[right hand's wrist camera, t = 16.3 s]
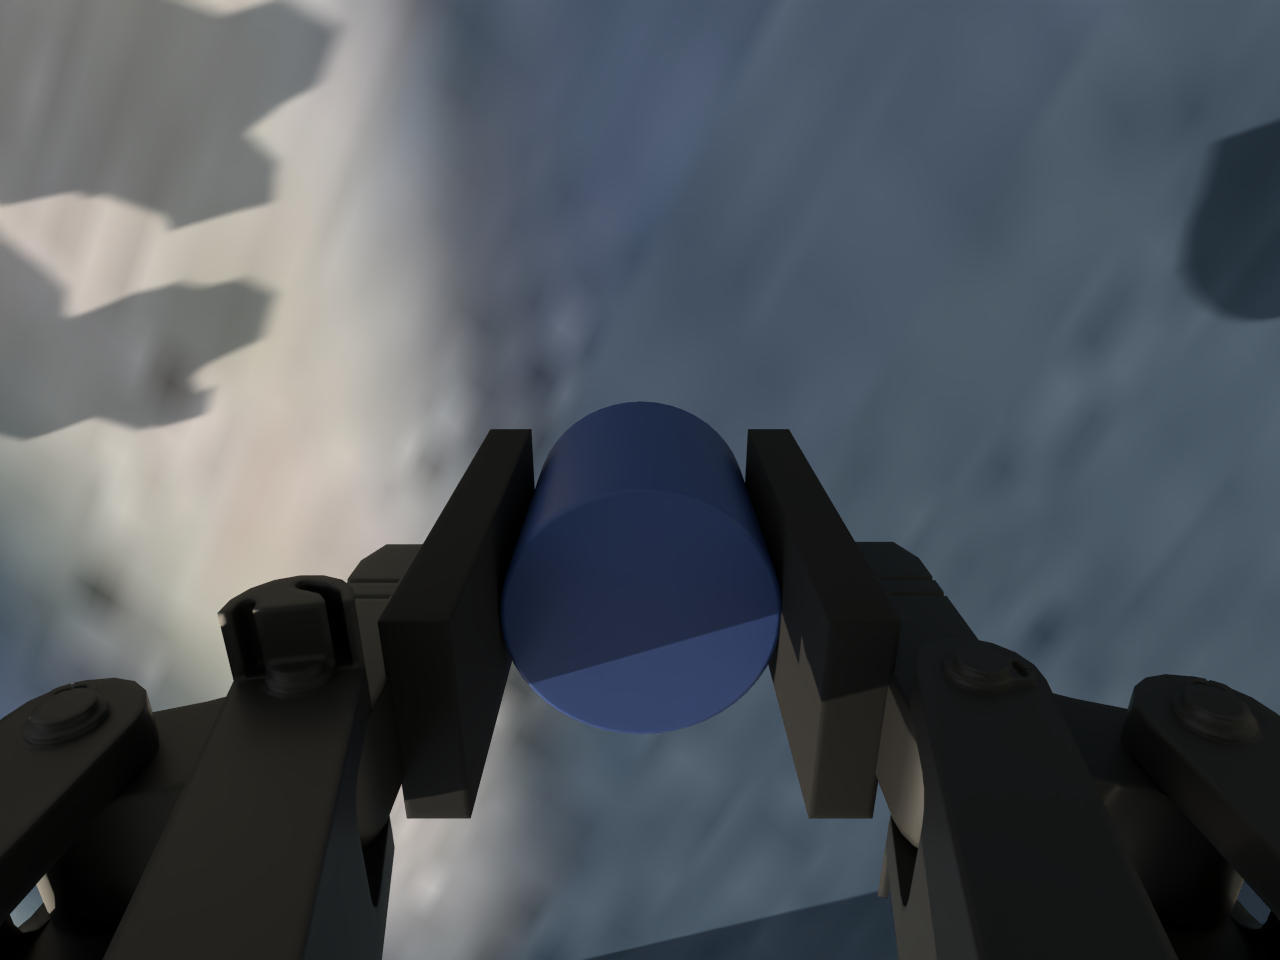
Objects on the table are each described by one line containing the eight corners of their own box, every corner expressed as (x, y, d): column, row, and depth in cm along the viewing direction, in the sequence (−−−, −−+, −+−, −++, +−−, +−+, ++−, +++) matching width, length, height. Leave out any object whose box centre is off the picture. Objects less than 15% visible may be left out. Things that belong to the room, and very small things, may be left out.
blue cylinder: (494, 498, 15) (439, 619, 11) (642, 356, 14) (643, 428, 10) (639, 625, 16) (639, 780, 12) (786, 501, 15) (842, 622, 11)
